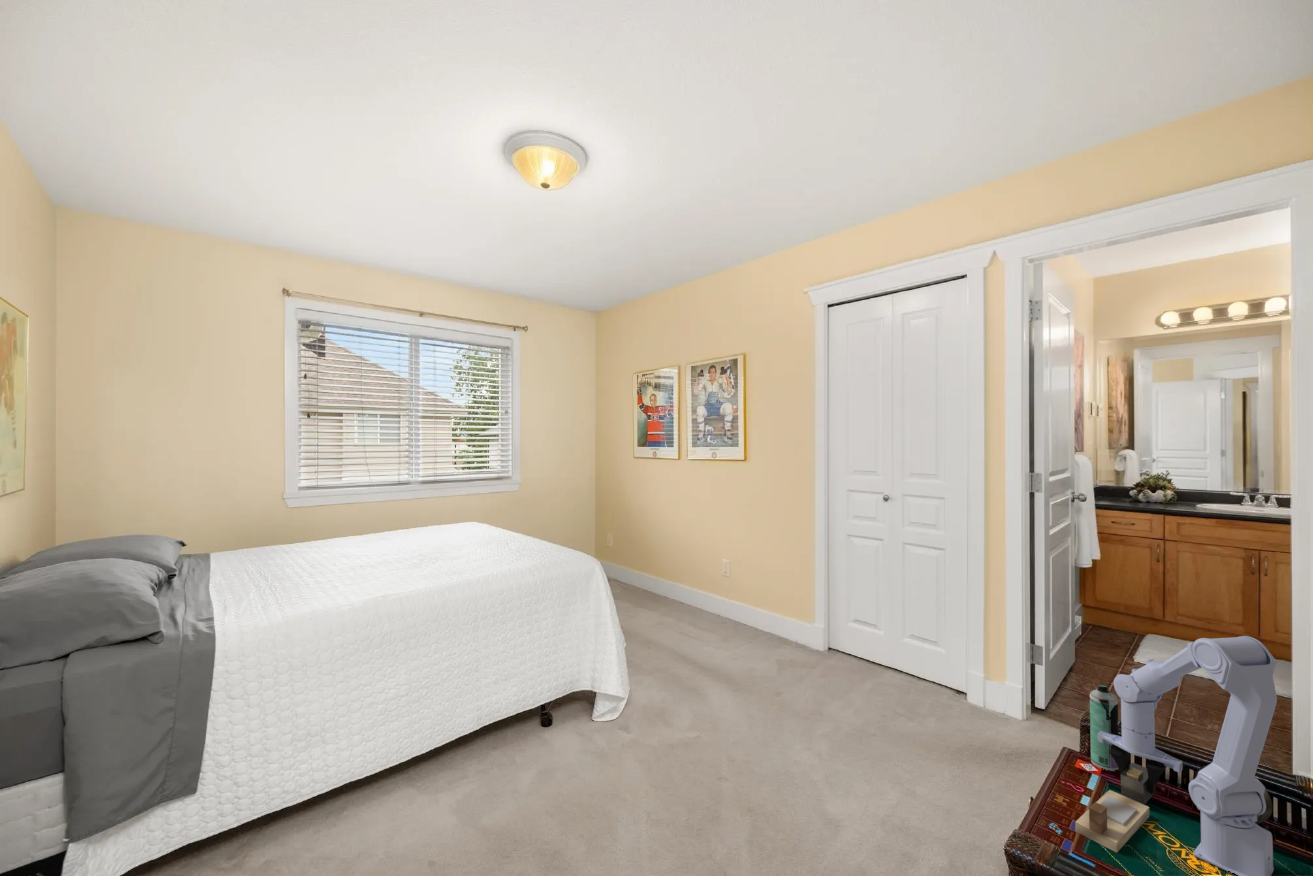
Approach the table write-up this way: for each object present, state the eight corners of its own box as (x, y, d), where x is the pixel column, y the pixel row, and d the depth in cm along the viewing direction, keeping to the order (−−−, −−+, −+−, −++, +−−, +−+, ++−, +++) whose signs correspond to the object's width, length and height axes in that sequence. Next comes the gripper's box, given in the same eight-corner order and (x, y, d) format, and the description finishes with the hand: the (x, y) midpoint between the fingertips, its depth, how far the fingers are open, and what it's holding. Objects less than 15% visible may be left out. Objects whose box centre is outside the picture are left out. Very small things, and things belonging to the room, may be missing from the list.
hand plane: (1149, 816, 118) (1148, 786, 118) (1116, 852, 108) (1116, 820, 108) (1109, 798, 124) (1109, 770, 124) (1075, 831, 114) (1074, 800, 114)
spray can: (1124, 772, 132) (1122, 691, 132) (1098, 770, 134) (1097, 690, 133) (1110, 759, 138) (1109, 681, 138) (1086, 757, 139) (1084, 679, 139)
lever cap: (1155, 792, 124) (1154, 767, 123) (1143, 805, 120) (1143, 780, 120) (1132, 783, 127) (1132, 759, 127) (1121, 795, 123) (1120, 770, 123)
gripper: (1186, 736, 120) (1187, 797, 120) (1105, 709, 132) (1106, 764, 132) (1176, 747, 116) (1177, 810, 116) (1093, 718, 128) (1094, 774, 128)
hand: (1138, 786), depth 124 cm, fingers closed on lever cap, 4 cm apart
